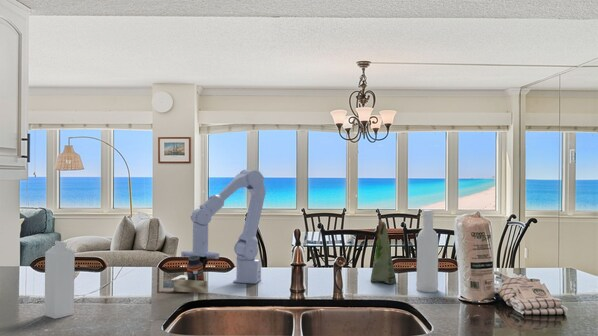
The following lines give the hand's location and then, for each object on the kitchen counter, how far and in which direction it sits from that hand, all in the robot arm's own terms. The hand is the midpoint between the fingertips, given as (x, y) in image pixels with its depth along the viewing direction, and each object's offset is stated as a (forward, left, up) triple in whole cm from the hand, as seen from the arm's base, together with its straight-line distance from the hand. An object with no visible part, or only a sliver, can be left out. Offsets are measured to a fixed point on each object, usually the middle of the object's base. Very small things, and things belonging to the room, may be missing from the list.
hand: (199, 276), depth 195 cm
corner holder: (0, +7, -3) cm, 8 cm away
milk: (+26, +46, -4) cm, 53 cm away
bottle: (-84, -16, -4) cm, 86 cm away
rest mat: (+10, -11, -3) cm, 15 cm away
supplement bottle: (0, +3, -3) cm, 4 cm away
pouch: (-67, -26, -4) cm, 72 cm away
